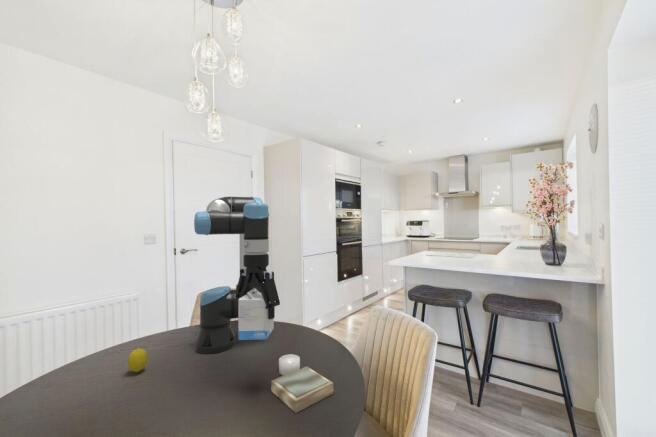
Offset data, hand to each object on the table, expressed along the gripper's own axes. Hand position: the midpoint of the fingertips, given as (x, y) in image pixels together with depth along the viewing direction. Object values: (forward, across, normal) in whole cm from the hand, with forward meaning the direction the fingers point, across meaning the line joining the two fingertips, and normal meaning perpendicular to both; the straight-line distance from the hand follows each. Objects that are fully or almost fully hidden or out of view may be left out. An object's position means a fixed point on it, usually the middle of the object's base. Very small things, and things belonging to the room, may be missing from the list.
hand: (256, 325), depth 85 cm
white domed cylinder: (+19, 0, +13) cm, 23 cm away
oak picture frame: (+19, +12, +7) cm, 23 cm away
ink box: (+3, 0, 0) cm, 3 cm away
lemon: (+18, -39, -19) cm, 47 cm away
